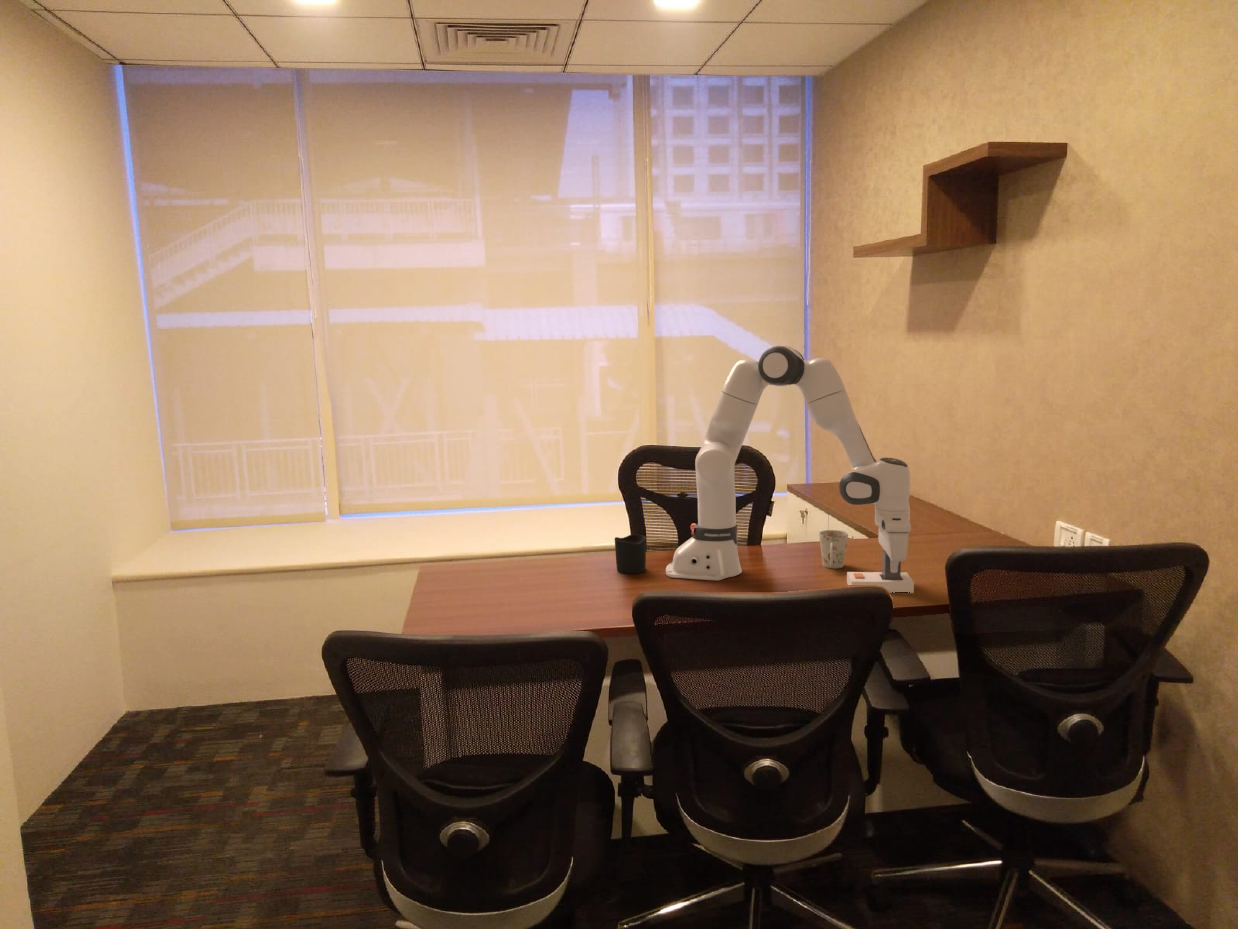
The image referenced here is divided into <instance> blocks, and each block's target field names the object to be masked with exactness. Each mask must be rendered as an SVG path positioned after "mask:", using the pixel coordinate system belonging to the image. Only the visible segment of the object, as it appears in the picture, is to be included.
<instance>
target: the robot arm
mask: <svg viewBox="0 0 1238 929" xmlns="http://www.w3.org/2000/svg"><path fill="white" fill-rule="evenodd" d="M770 385H772V386H776V387H787V386H791V385H795V386H796V387H797V388H799V390H800V391H801V393H802V394H803V398H804V400H805V403H806V406H807V409H808V411H809V414H810V416H811V418H812V419H813V421H814V422H815V424H816V425H817V427H819V428H821V429H823V430H825V431H827V432H829V433H831V434H833V435H834V436H835V437H837V439H839V441H840V443H841V445H842V447H843V449H844V452H845V453H846V455H847V457H848V460H849V462H850V464H851V470H850V471H849V472H847V473H846V474H844V475H843V476H842V477H841V479H840V480H839V484H838V485H839V486H838V489H839V494H840V496H841V498H842V499H843V500H844V501H845V502H847V503H848V504H850V505H853V506H863V505H871V504H873V505H874V524H875V526H877V527H878V543H879V545H880V546H881V548H882V549H883V550H885V552H886V553H887V555H888V556H889V557H890V560H891V561H890V571H891V572H892V573H897V572H898V564H899V561H901V562H905V561H906V559H907V556H908V549H909V548H908V546H909V533H911V532H912V524H911V520H910V519H911V516H910V515H911V506H910V502H909V501H910V500H909V498H910V495H911V474H910V473H911V472H910V468H909V466H908V464H907V463H906V462H905V461H903V460H901V459H898V458H893V457H880V458H878V460H876V458H875V457H874V455H873V453H872V450H871V449H870V447H869V444H868V442H867V439H866V437H865V435H864V433H863V431H862V428H861V427H860V424H859V423H858V420H857V417H856V415H855V412H854V410H853V406H852V403H851V401H850V398H849V395H848V393H847V390H846V387H845V385H844V382H843V380H842V377H841V376H840V374H839V372H838V370H837V369H836V367H835V365H834V363H833V362H832V361H831V360H829V359H827V358H825V357H816V358H815V357H814V358H813V359H808V360H806V359H805V358H804V356H803V354H801V352H799V351H798V350H797V349H794V348H793V347H790V346H786V345H775V346H772V347H769V348H768V349H766V350H765V351H764V352H763V353H762V354H761V355H760V357H759V360H754V359H751V358H750V359H749V358H745V359H740V360H738V361H736V362H735V363H734V365H733V366H732V368H731V370H730V371H729V374H728V375H727V377H726V379H725V382H724V383H723V386H722V388H721V391H720V394H719V396H718V400H717V401H716V402H717V403H716V405H715V407H714V409H713V412H712V415H711V418H710V420H709V421H710V422H709V423H708V427H707V430H706V432H705V435H704V437H703V438H704V439H703V442H702V444H701V447H700V448H699V451H698V453H697V454H696V457H695V460H694V462H695V463H694V466H695V481H696V482H695V483H696V493H697V496H696V497H697V523H694V522H693V523H691V525H690V527H689V528H690V531H691V532H690V534H691V537H689V539H688V540H686V541H684V542H683V543H682V544H680V546H678V548H676V550H675V551H674V553H673V558H672V562H670V563H669V564H667V565H666V568H665V574H666V576H668V577H669V578H675V579H690V580H705V581H721V580H724V579H726V578H733V577H736V576H738V575H740V574H742V573H743V570H742V567H741V563H740V558H739V553H738V552H739V551H738V541H739V530H738V524H737V522H736V521H737V519H736V518H737V516H736V515H737V514H736V513H737V511H736V507H737V506H736V505H737V502H736V483H735V482H736V481H735V480H736V478H735V477H736V476H735V467H736V466H735V465H736V461H737V459H738V456H739V454H740V451H741V448H742V446H743V444H744V441H745V439H746V436H747V434H748V430H749V428H750V426H751V423H752V420H753V417H754V415H755V412H756V410H757V407H758V404H759V402H760V399H761V397H762V394H763V392H764V391H765V389H766V388H767V387H768V386H770Z"/></svg>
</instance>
